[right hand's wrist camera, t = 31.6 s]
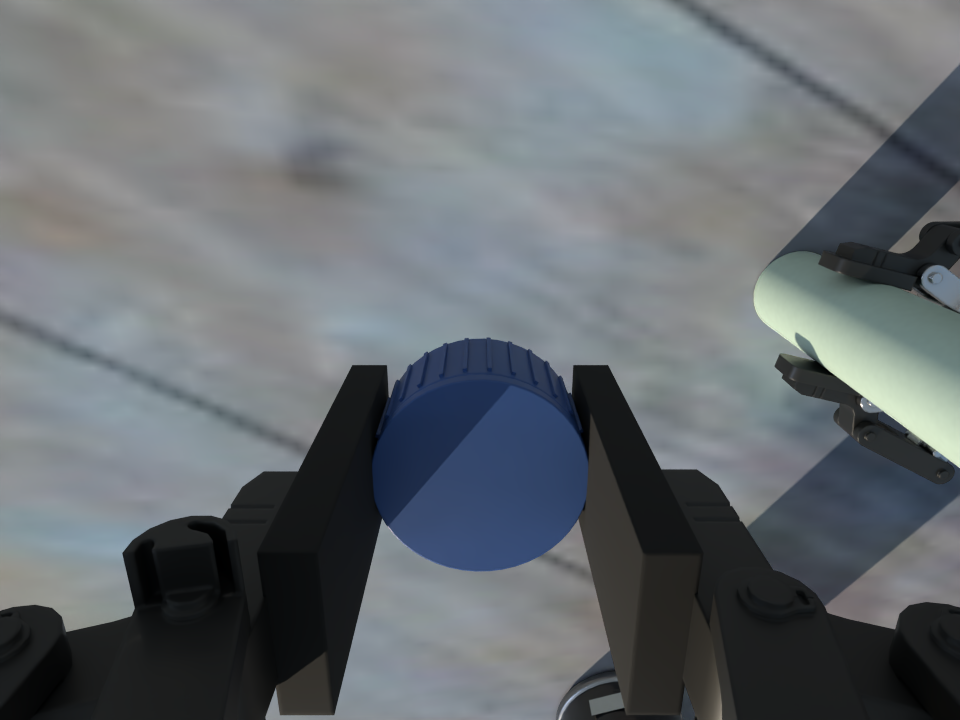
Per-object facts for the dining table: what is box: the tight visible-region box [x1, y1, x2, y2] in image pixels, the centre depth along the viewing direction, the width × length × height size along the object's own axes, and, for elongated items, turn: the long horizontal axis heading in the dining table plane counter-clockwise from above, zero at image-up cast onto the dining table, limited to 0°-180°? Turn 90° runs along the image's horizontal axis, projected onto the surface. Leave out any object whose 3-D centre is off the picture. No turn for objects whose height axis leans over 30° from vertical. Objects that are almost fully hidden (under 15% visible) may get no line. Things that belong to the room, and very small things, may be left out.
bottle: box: [754, 251, 960, 468], centre depth 27 cm, size 5×5×23 cm
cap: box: [372, 338, 589, 571], centre depth 13 cm, size 4×4×2 cm
